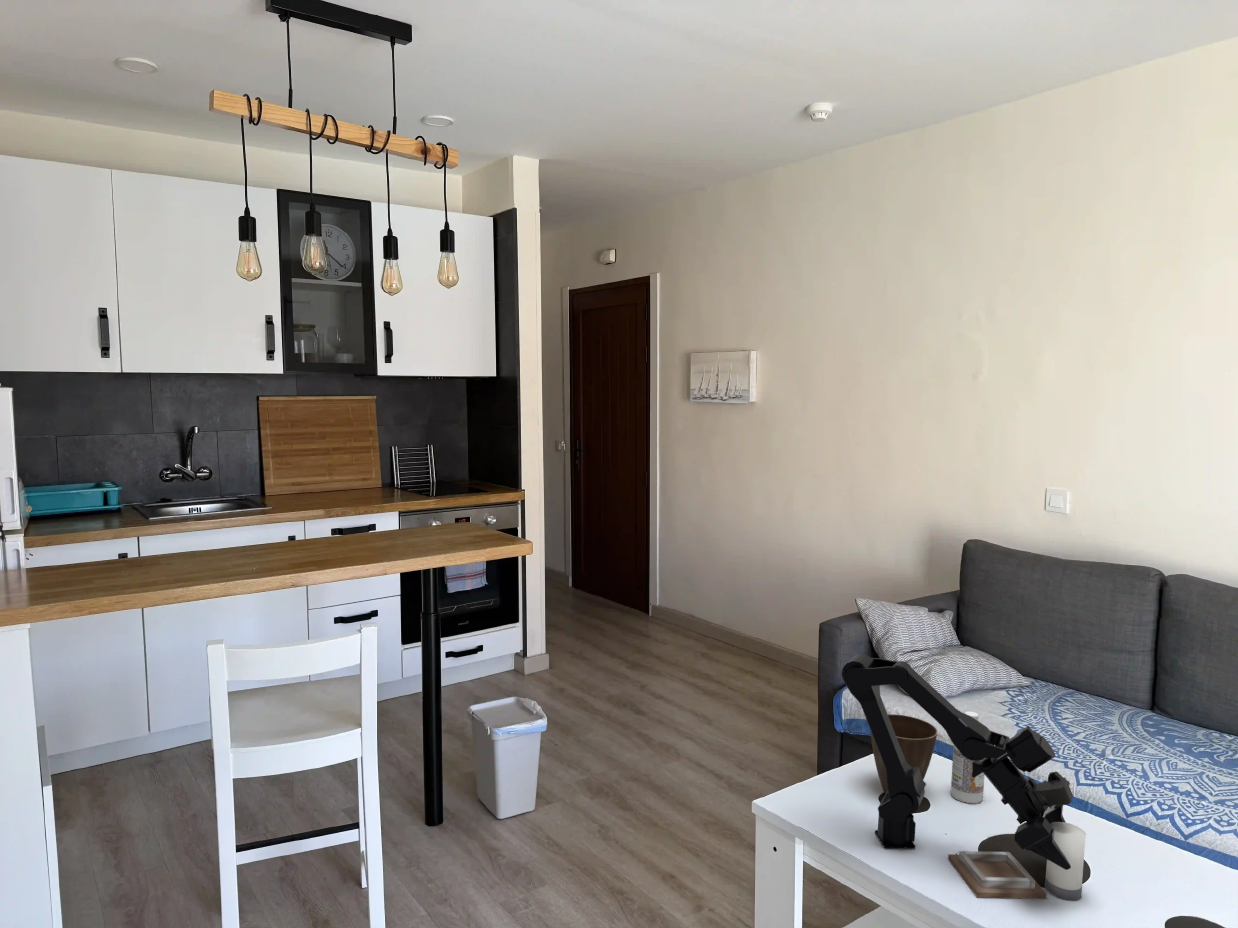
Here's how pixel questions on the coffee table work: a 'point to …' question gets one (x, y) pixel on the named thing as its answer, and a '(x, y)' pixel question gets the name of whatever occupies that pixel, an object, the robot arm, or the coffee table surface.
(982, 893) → the walnut board
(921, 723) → the plant pot
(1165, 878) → the coffee table surface
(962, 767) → the bath foam
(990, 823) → the coffee table surface
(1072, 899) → the white cylinder
